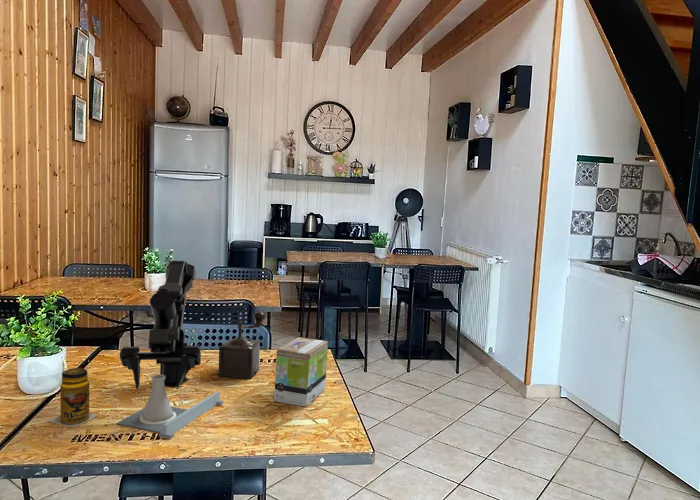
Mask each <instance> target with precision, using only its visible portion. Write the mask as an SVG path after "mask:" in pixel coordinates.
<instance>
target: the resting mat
mask: <svg viewBox="0 0 700 500" xmlns="http://www.w3.org/2000/svg"><path fill="white" fill-rule="evenodd" d="M171 408H172V411H173V414H174V416H172V417H170V418H168V419H166V420H161V421H155V422H152V421H148V420H144V419H143V417H142V413H143V411H144V408H142V409H140V410H138V411H136V412H134V413H133V414H131V415H129V416H126V417H125V418H123V419H121V420H120V421H118V422H116V425H119V426H123V427H129V428H133V429H139V430H142V431H148V432H152V433H153V432H154V433H158V434H159V433H160V432H162V431H164V424H165V423H167V422H169V421H170V420H172V419H173V418H175V417H177V416H178V415H180V414H181V413H183V412H185V411H186V410H188V409H187V408H186V409H185V408H180V407H175V406H171Z"/></svg>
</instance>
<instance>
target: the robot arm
mask: <svg viewBox="0 0 700 500" xmlns="http://www.w3.org/2000/svg"><path fill="white" fill-rule="evenodd" d="M165 271H166V272H165V279H166V280H165V283H164V284H163V285H160V286H159V287H158V289H157V290H156V293H154V294H153V295H152V296H151V297H150V300H149V305H150V309H151V312H152V317H153V319H154V322H153V323H154V324H153V328H152V329H149V330H148V331H149V334H148V349H149V350H150V351H140V348H139V346H122V348H121V349H120V350H119V359H120V362H121V364H122V367H124V368H126V367H127V369H128V370H131V371H132V374H133V378H134V383H135V389H136V390H139V387H140V383H141V382H140V381H141V361H146V360H147V361H148V360H150V361H152V360H155V361H156V362H155V364H156V365H160V369H159V370H160V371H159V373H160V374H162V375H165V377H166V378H165V379H164V386H167V387H173V388H176V389H179V388H180V386H181V385H182V384H184V383H185V382H188V381H189V378H188V377H187V374H189V372H190V370H191V369H195V368H196V366H199V365H201V364H202V363H201V362H202V352H201V347H200V346H199V345H189V343H188V342H187V339H186V333H185V332H184V330H183V325H184V315H185V308H186V304H187V293H188V292H189V291H190V290H191V288H193V284H194V281H196V275H197V274H196V272H197V271H196V268H195V266H194V265H192V264H190V263H188V261H185V260H170V261H169V263H168V264H167V265H166V269H165Z"/></svg>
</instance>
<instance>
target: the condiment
mask: <svg viewBox="0 0 700 500" xmlns="http://www.w3.org/2000/svg"><path fill="white" fill-rule="evenodd" d="M61 375H62V377H61V381H62V382H61V383H60V387H59V388H60V392H59V394H60V395H59V396H60V397H59V398H60V405H59V406H60V414H59V415H57V416H55V417H52V418H51V419H47V420H46V422H49V423H53V424H57V425H60V426H63V427H64V426H65V427H70V428H76V427H78V426H80V425H82V424H84V423H86V422H88V421H90V420H92V419H94V418H96V417H98V416H99V414H94V413H90V380H89V378H88V377H89V375H88V370H87V369H86V368H83V367H75V368H74V367H73V368H69V369H65V370H64V371H62V374H61Z"/></svg>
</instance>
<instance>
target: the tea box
mask: <svg viewBox="0 0 700 500" xmlns="http://www.w3.org/2000/svg"><path fill="white" fill-rule="evenodd" d="M328 347H329V341H327V340H322V339H320V340H319V339H313V338H307V337H299V336H298V337H296V338H294V339H292V340H291V341H288V342H287V343H285V344H284V345H282V346H279V348H277V349H276V357H275V358H276V362H275V373H274V374H275V376H274V393H273V401H274V402H278V403H282V404H289V405H293V406H299V407H307V406H308V405H309V404H310V403H311V402H313V400H315V398H317V397H318V396H319V395H320V394H321V393H322V392H324V390H325V389H326V383H327V382H326V381H327V366H328V365H327V364H328V352H329V351H328V349H329V348H328ZM325 391H326V390H325Z"/></svg>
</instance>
